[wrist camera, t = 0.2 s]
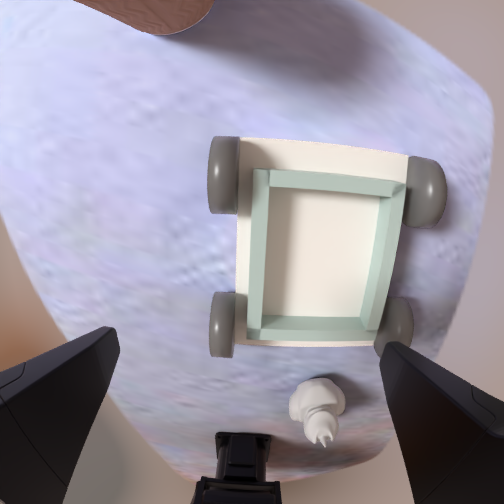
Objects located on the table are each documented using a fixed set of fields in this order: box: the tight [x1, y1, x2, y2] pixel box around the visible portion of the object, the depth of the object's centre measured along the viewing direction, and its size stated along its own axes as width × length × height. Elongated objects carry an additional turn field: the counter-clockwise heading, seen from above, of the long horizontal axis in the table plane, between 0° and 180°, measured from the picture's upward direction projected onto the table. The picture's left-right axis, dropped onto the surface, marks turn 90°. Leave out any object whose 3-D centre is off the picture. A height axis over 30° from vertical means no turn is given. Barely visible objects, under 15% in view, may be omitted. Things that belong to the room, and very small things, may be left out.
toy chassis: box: [207, 136, 447, 358], centre depth 20 cm, size 16×15×5 cm
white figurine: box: [289, 378, 345, 447], centre depth 24 cm, size 5×7×8 cm
